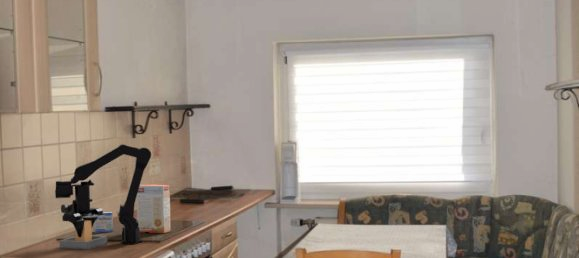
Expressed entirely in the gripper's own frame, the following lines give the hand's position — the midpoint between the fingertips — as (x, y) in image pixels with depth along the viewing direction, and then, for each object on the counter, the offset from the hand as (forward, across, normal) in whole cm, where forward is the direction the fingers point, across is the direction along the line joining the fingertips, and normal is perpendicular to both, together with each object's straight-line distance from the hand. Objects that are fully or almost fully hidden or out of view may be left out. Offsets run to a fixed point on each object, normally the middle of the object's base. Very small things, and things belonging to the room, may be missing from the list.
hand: (83, 235), depth 284 cm
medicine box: (+4, -31, -13) cm, 34 cm away
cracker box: (+4, -36, +10) cm, 38 cm away
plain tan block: (+2, 0, 0) cm, 2 cm away
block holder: (+4, 0, 0) cm, 4 cm away
